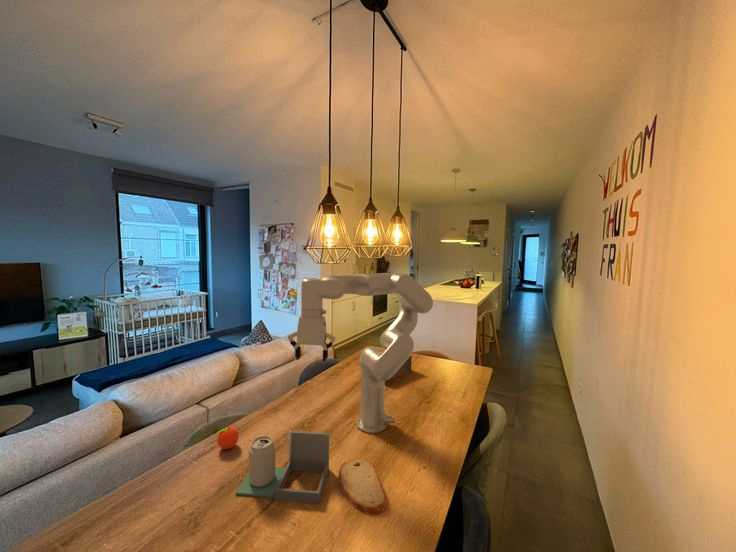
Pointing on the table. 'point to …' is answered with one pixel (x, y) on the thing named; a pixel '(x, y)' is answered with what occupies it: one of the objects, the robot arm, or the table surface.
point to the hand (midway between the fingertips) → (311, 359)
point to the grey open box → (305, 464)
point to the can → (261, 461)
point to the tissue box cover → (403, 369)
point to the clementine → (227, 437)
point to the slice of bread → (362, 486)
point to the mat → (262, 491)
